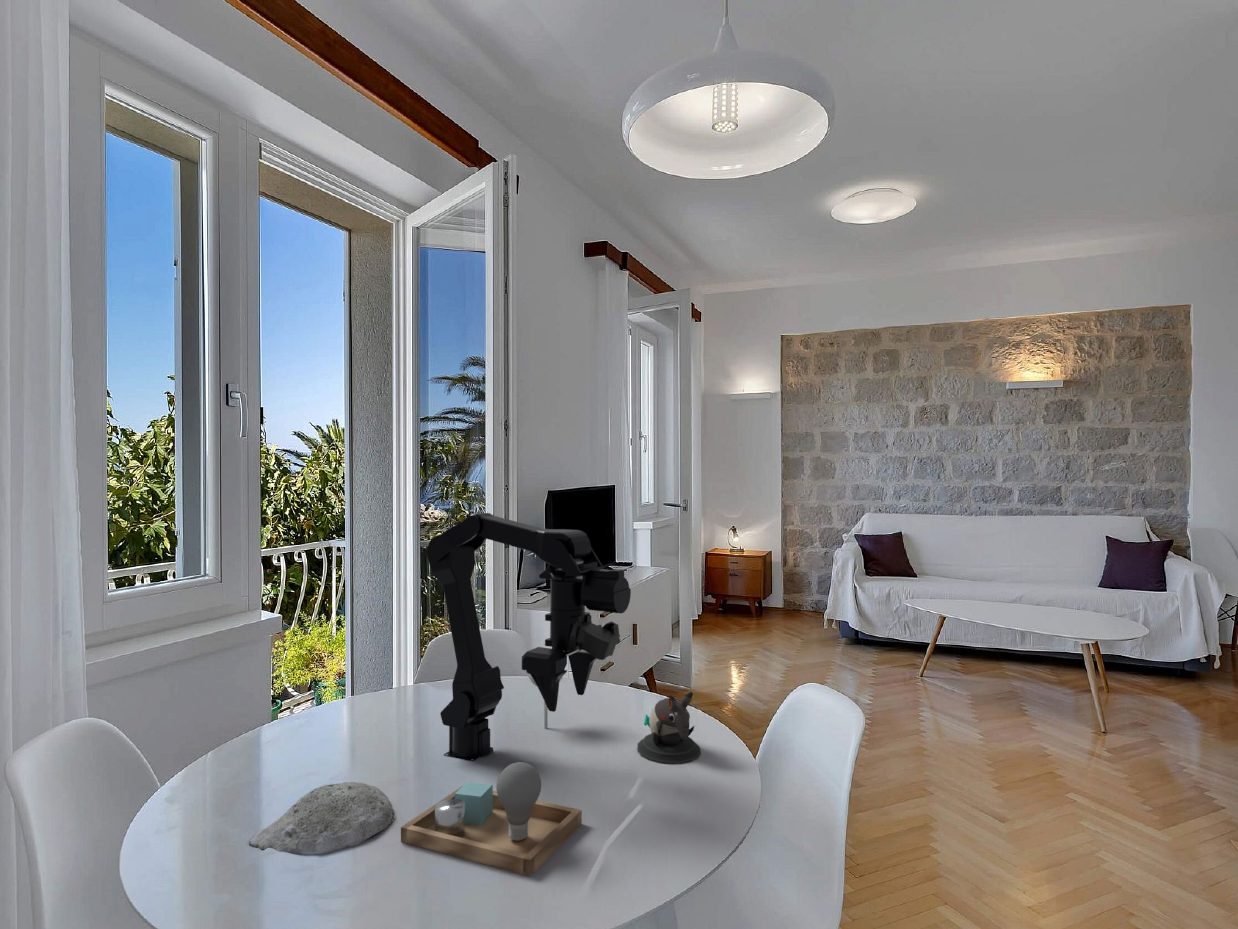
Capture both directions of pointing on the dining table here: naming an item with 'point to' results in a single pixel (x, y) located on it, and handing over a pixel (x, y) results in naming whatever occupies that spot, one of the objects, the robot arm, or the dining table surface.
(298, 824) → the stone
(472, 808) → the teal block
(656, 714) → the figurine
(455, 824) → the grey metal cylinder
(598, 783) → the dining table surface
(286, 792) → the dining table surface
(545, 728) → the lollipop
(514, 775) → the light bulb
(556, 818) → the tray
